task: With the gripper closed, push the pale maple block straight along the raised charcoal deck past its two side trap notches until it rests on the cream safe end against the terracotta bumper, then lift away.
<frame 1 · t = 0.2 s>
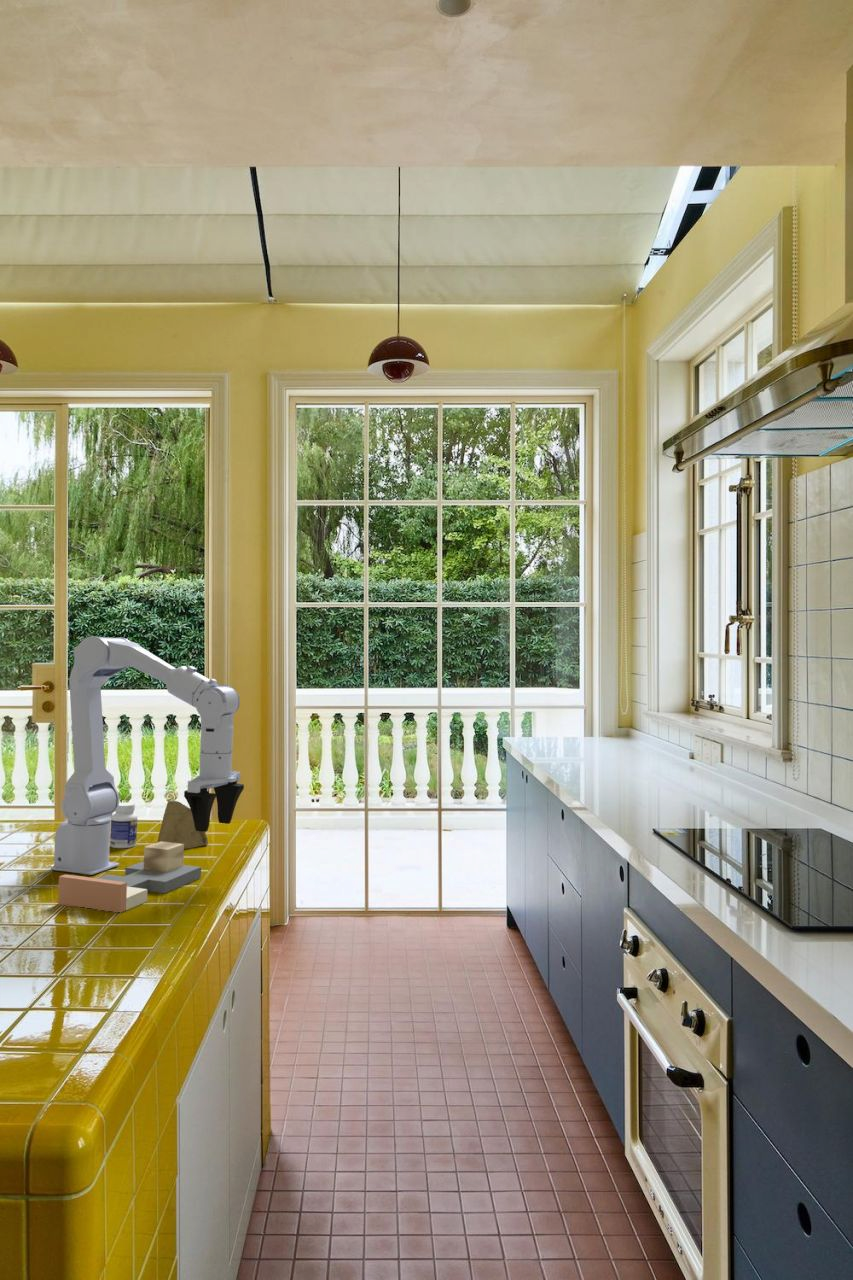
hand: (213, 826, 153), 10 cm above the counter, fingers open, 7 cm apart
rock: (183, 848, 179), on the counter
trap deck: (133, 890, 146), on the counter
pill bottle: (123, 846, 178), on the counter
maple block: (163, 867, 154), point 2 cm above the counter, touching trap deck
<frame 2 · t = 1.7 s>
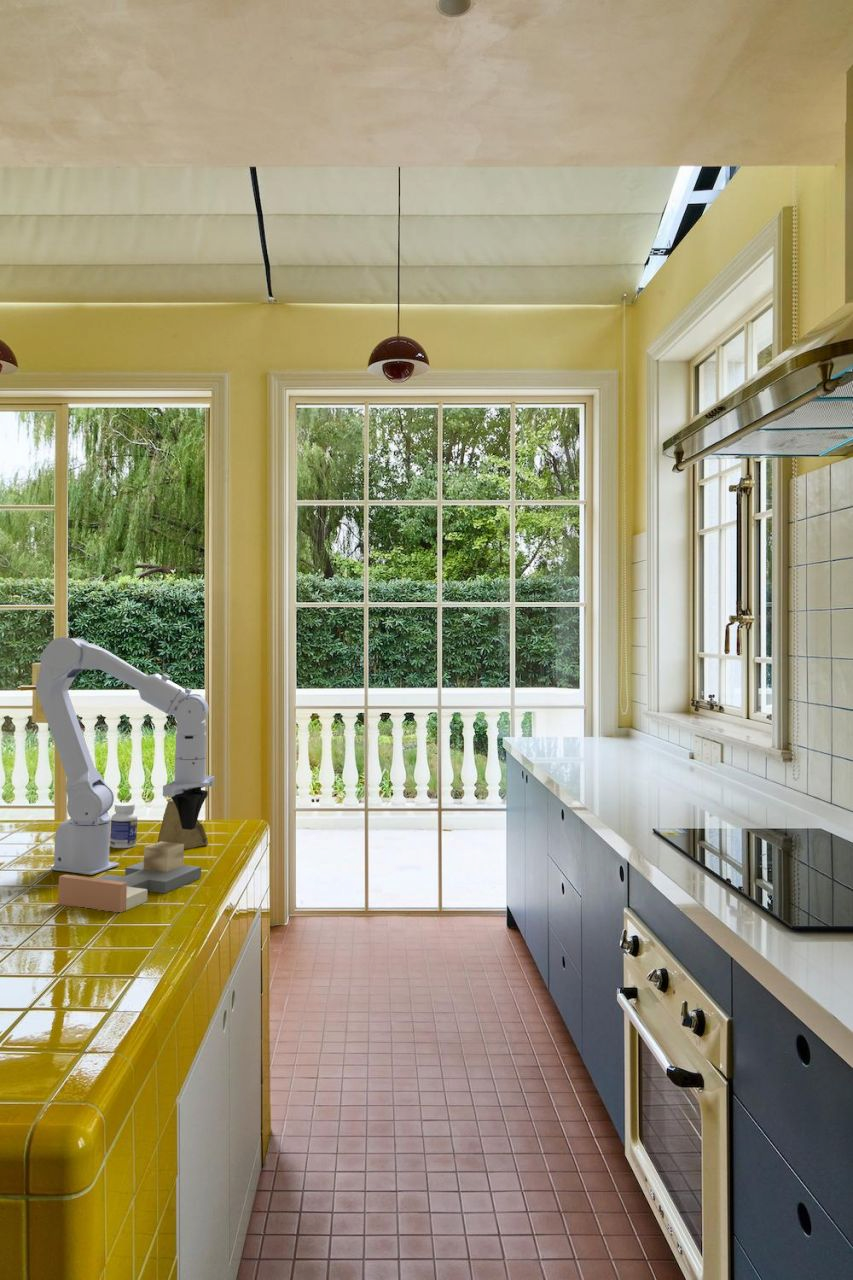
hand: (188, 828, 162), 8 cm above the counter, fingers closed
nothing on the counter moved.
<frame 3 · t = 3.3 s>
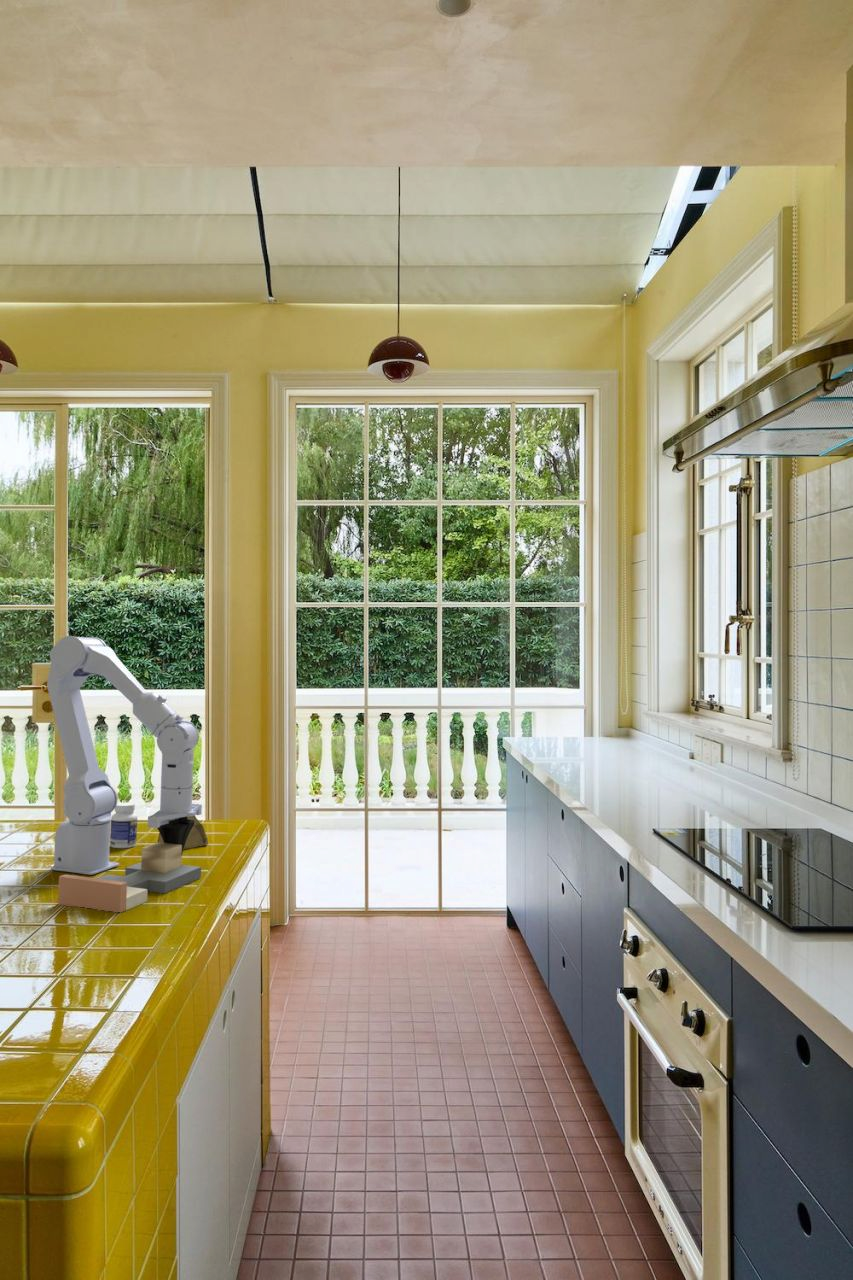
hand: (174, 859, 158), 3 cm above the counter, fingers closed
maple block: (161, 868, 154), point 2 cm above the counter, touching gripper
everything else where it was.
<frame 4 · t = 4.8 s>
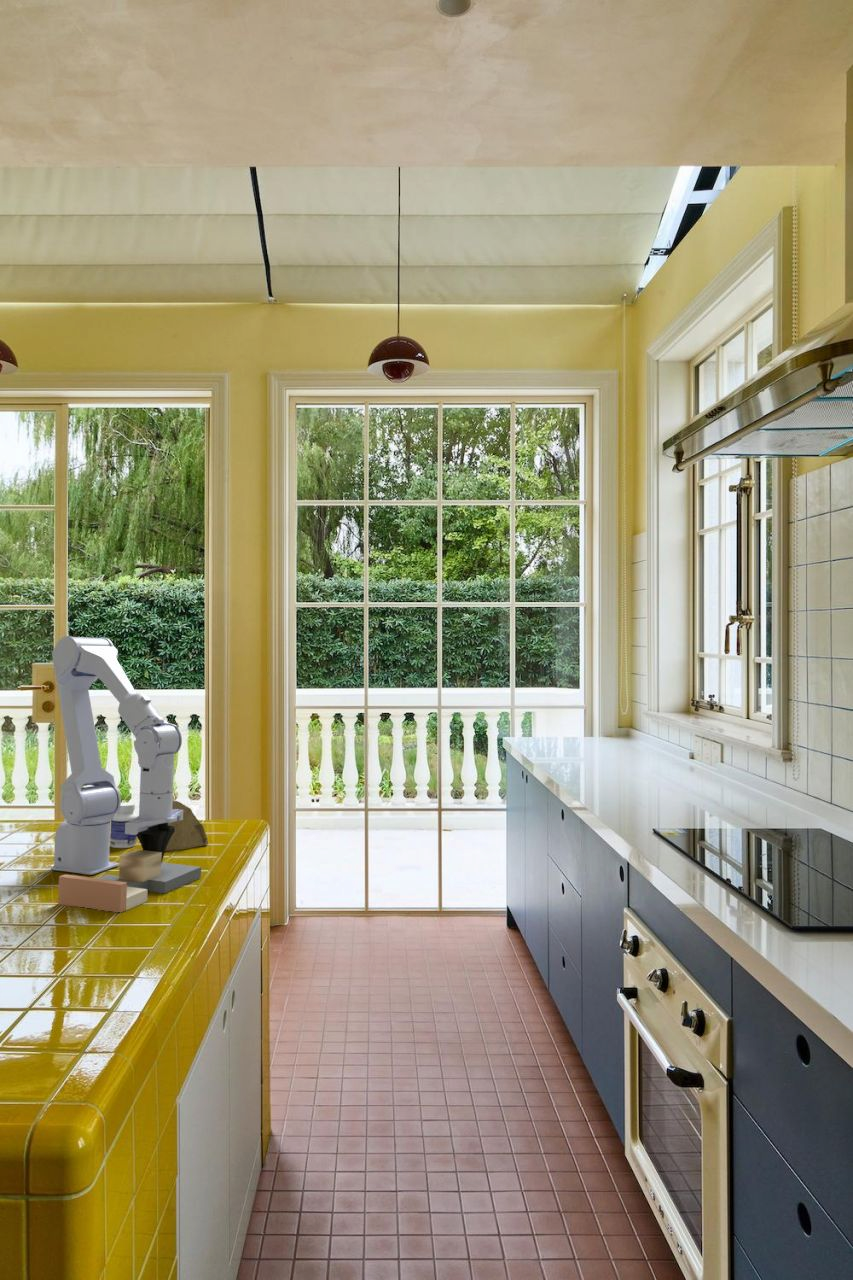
hand: (153, 867, 152), 3 cm above the counter, fingers closed
maple block: (140, 876, 148), point 2 cm above the counter, touching gripper, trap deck
everything else where it was.
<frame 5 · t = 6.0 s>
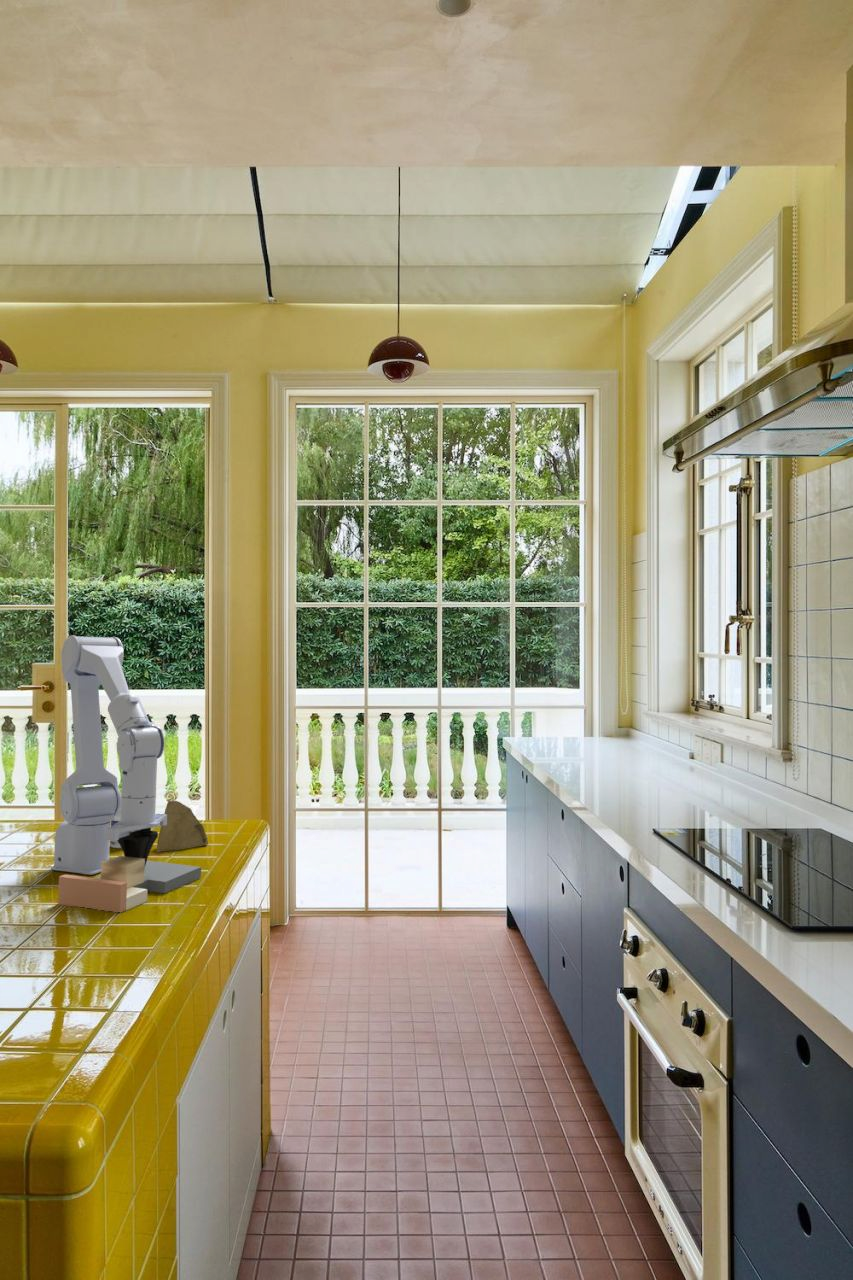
hand: (136, 873, 147), 3 cm above the counter, fingers closed
maple block: (122, 884, 143), point 2 cm above the counter, touching gripper
everything else where it was.
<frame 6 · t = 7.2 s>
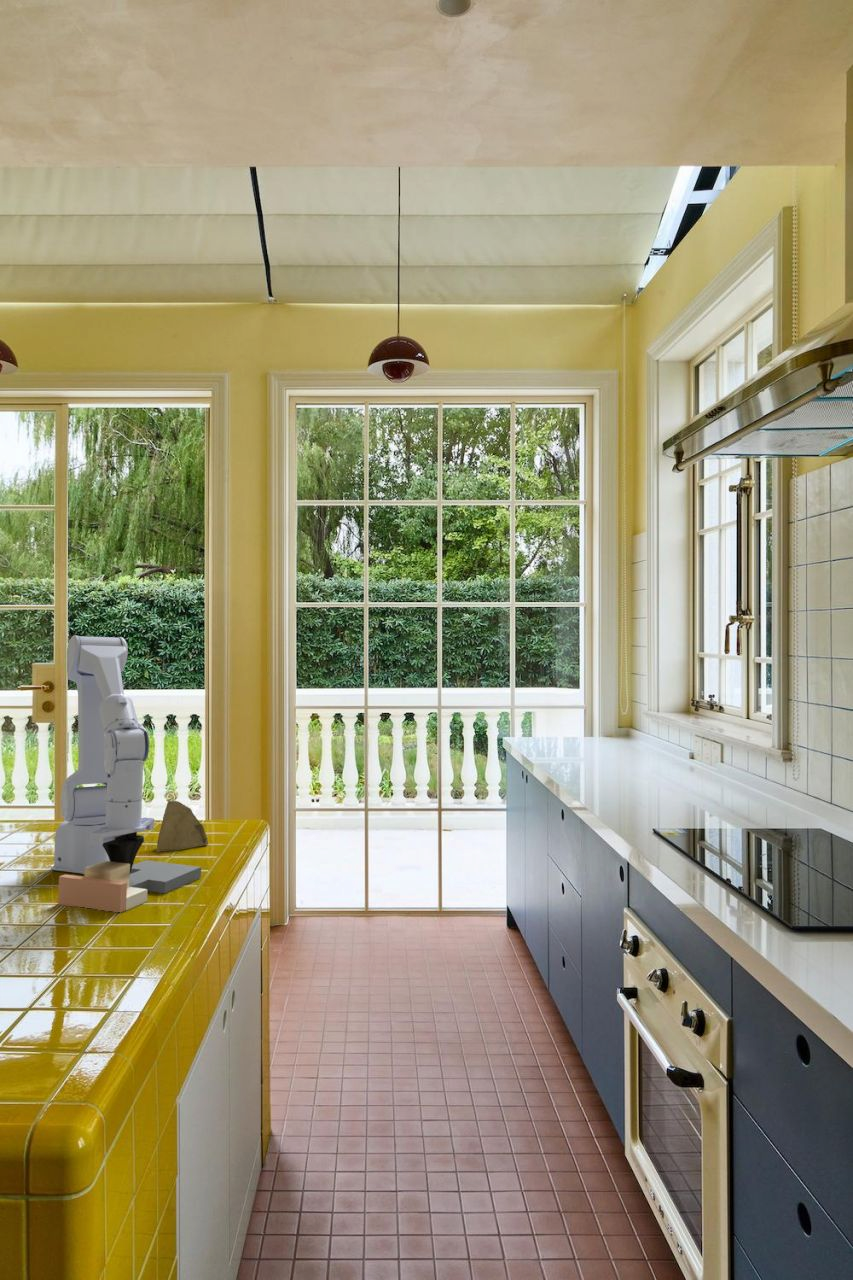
hand: (121, 879, 143), 3 cm above the counter, fingers closed
maple block: (106, 889, 139), point 2 cm above the counter, touching gripper, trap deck
everything else where it was.
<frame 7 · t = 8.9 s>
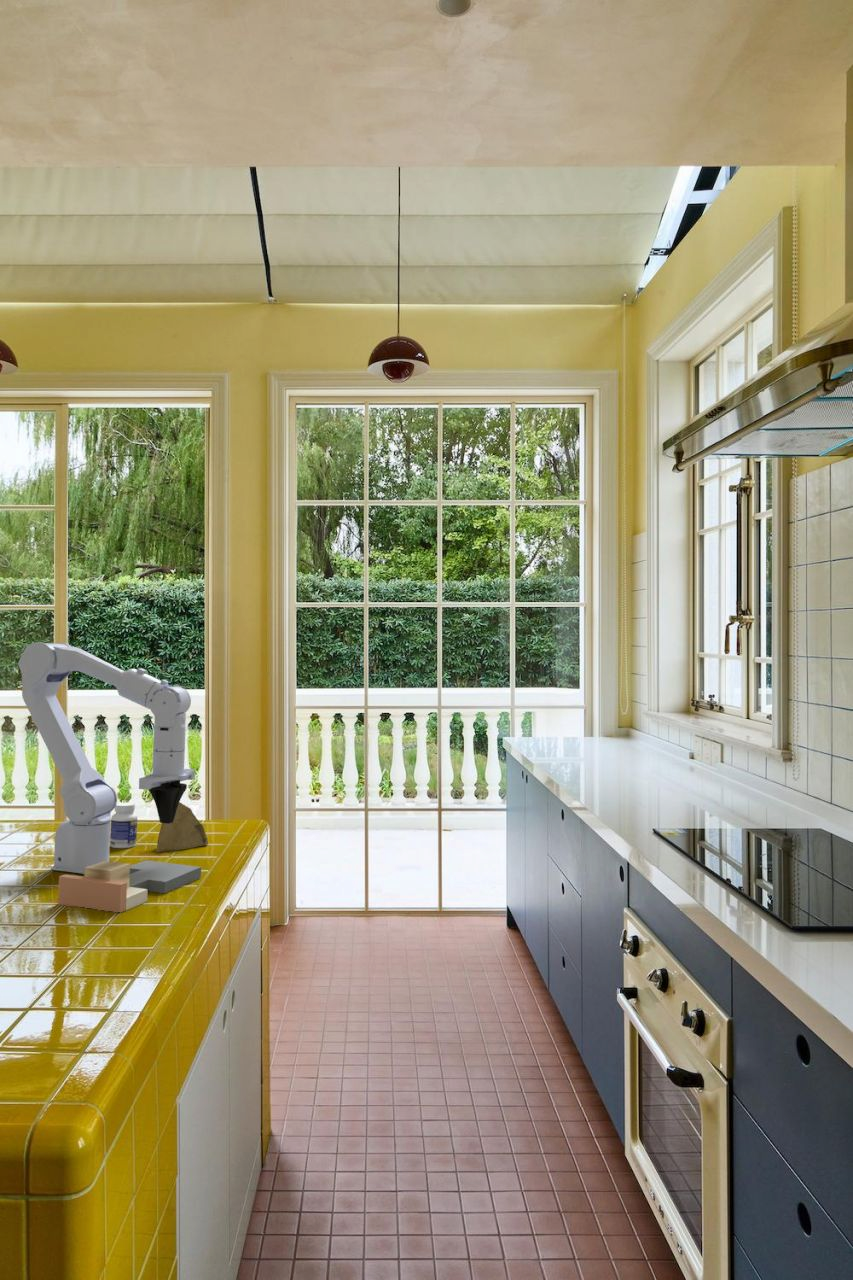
hand: (166, 822, 158), 9 cm above the counter, fingers closed
maple block: (106, 889, 139), point 2 cm above the counter, touching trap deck
everything else where it was.
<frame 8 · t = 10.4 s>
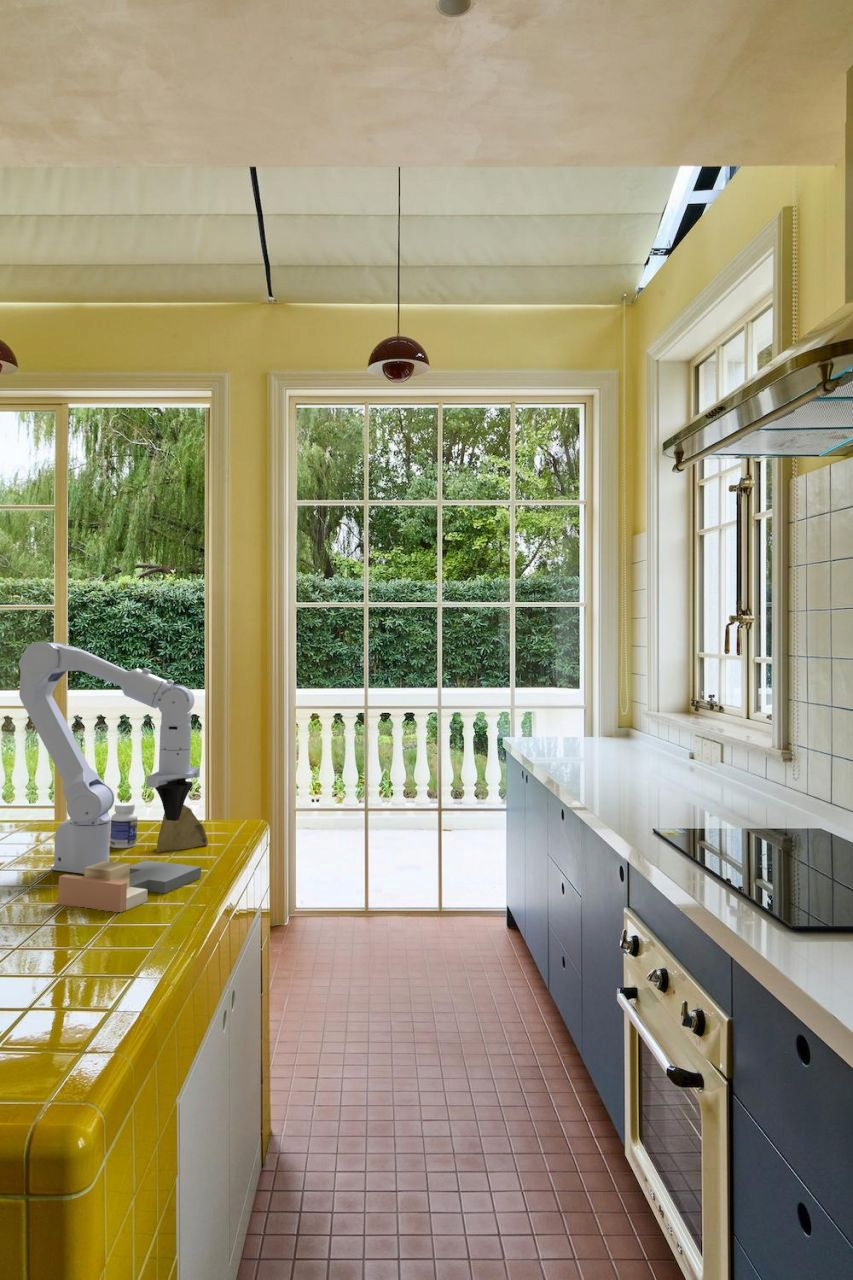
hand: (172, 819, 161), 9 cm above the counter, fingers closed
nothing on the counter moved.
at the end: maple block 0.6 cm from the target spot, point 2.0 cm above the counter; maple block tilted 0°; maple block moved 16.0 cm from its start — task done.
